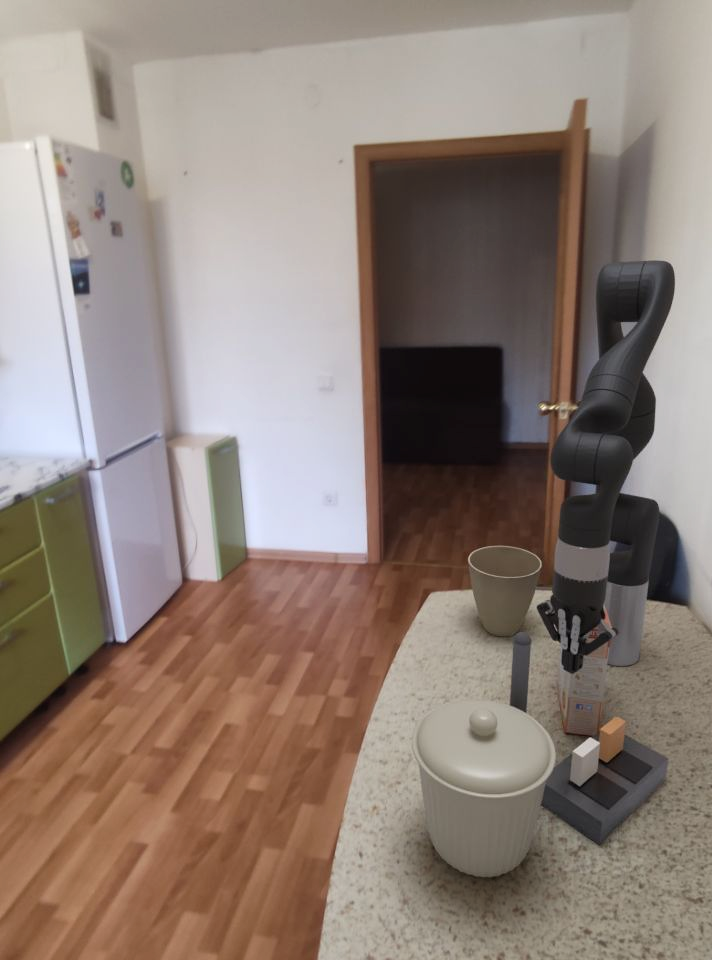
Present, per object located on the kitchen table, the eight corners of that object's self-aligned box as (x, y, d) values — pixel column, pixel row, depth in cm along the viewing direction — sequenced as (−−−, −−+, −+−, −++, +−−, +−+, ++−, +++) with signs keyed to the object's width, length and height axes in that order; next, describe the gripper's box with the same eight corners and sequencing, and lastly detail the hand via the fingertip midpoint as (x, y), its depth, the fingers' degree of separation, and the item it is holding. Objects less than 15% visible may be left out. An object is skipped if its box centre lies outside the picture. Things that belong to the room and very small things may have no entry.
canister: (544, 801, 96) (554, 678, 89) (550, 916, 79) (563, 775, 73) (420, 783, 100) (421, 663, 93) (401, 888, 83) (401, 752, 77)
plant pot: (452, 621, 144) (453, 554, 139) (506, 604, 151) (509, 540, 146) (495, 654, 132) (498, 583, 127) (552, 635, 138) (557, 566, 133)
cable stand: (509, 756, 105) (517, 615, 97) (547, 780, 100) (558, 634, 92) (480, 777, 101) (486, 632, 93) (518, 804, 95) (527, 653, 87)
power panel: (604, 745, 107) (607, 723, 105) (665, 780, 99) (668, 756, 98) (537, 801, 96) (539, 778, 94) (599, 845, 88) (602, 820, 87)
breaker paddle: (613, 743, 100) (616, 716, 99) (622, 748, 99) (626, 721, 98) (597, 756, 98) (600, 729, 96) (606, 762, 97) (610, 734, 95)
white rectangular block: (587, 765, 96) (590, 737, 95) (597, 771, 95) (600, 742, 94) (569, 779, 94) (572, 751, 92) (579, 786, 93) (582, 757, 91)
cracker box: (601, 738, 108) (613, 627, 101) (562, 734, 109) (572, 623, 103) (589, 687, 121) (600, 585, 114) (555, 683, 122) (564, 582, 116)
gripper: (637, 574, 93) (624, 680, 98) (557, 546, 103) (549, 643, 108) (608, 591, 88) (596, 700, 94) (527, 560, 98) (520, 660, 103)
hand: (571, 670), depth 101 cm, fingers closed
